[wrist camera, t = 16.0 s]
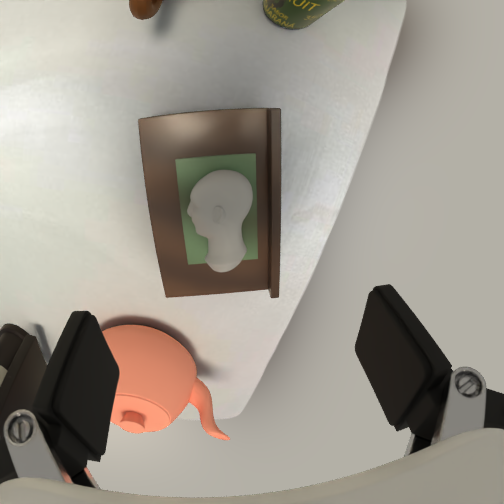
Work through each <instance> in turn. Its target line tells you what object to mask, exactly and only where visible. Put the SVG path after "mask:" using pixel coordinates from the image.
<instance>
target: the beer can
mask: <svg viewBox="0 0 504 504" xmlns="http://www.w3.org/2000/svg"><path fill="white" fill-rule="evenodd" d="M343 1H345V0H263V7H264V11H265V13H266V15H267V16H268V17H269V18H270V19H271V20H272V21H273V22H274V23H276V24H278V25H279V26H281V27H285V28H289V29H300V28H304V27H307V26H309V25H310V24H312V23H313V22H314V21H316V20H317V19H319V18H320V17H321V16H323V15H324V14H326V13H327V12H328V11H330V10H331V9H333V8H334V7H336V6H337V5H339V4H340V3H342V2H343Z"/></svg>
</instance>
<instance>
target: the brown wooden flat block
mask: <svg viewBox="0 0 504 504" xmlns="http://www.w3.org/2000/svg"><path fill="white" fill-rule="evenodd" d="M138 124H139V135H140V145H141V154H142V163H143V171H144V179H145V186H146V193H147V200H148V207H149V213H150V219H151V225H152V231H153V237H154V242H155V247H156V253H157V258H158V263H159V268H160V272H161V277H162V282H163V286H164V291H165V295H166V298H168V297H183V296H196V295H209V294H222V293H233V292H245V291H255V290H266V289H268V290H269V293H270V297H271V298H278V297H279V280H280V237H281V109H280V108H243V109H222V110H207V111H195V112H185V113H176V114H168V115H160V116H153V117H147V118H141V119H138ZM216 170H232V171H236V172H239V173H241V174H242V175H244V176H245V177H246V178H247V179H248V181H249V182H250V184H251V187H252V191H253V200H252V205H251V208H250V210H249V212H248V214H247V216H246V217H245V218H244V220H243V222H242V228H241V230H242V238H243V242H244V244H245V246H246V248H247V252H246V254H245V255H244V257H243V259H242V260H241V262H240V263H239V264H238V265H237V266H236V267H235V268H233V269H232V270H230V271H227V272H217V271H214V270H213V269H212V268H211V267H210V266H209V265H208V264H207V262H206V261H205V256H206V255H207V253H208V238H206V237H204V236H201V235H199V234H197V232H196V228H195V225H194V223H193V222H192V217H190V216H189V215H188V213H187V209H188V206H189V204H190V201H191V199H190V195H191V192H192V189H193V188H194V186H195V185H196V183H197V182H198V181H199V180H200V179H202V178H203V177H204V176H206V175H207V174H209V173H211V172H213V171H216Z"/></svg>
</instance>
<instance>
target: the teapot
mask: <svg viewBox="0 0 504 504" xmlns="http://www.w3.org/2000/svg"><path fill="white" fill-rule="evenodd" d="M102 333H103V335H104V337H105V340H106V342H107V344H108V346H109V348H110V350H111V352H112V354H113V356H114V358H115V360H116V362H117V364H118V367H119V371H120V375H119V380H118V385H117V389H116V394H115V399H114V404H113V409H112V415H111V420H110V421H111V422H112V423H114V424H116V425H118V426H120V427H121V428H122V429H123V430H125V431H128V432H131V433H143V432H154V431H159V430H162V429H164V428H166V427H167V426H169V425H170V424H171V423H172V422H173V421H174V420H175V419H176V418H177V417H178V416H179V414H180V413H181V412H182V411H183V410H184V408H185V407H186V406H187V404H188V402H190V403H191V404H193V405H194V406H195V407H196V408H197V409H198V411H199V413H200V419H201V424H202V427H203V429H204V430H205V431H206V432H207V433H208V434H209V435H211V436H213V437H215V438H218V439H222V440H230V438H229V437H228V436H227V435H225V434H224V433H223V432H222V431H221V430H219V428H218V427H217V425H216V424H215V421H214V417H213V408H212V398H211V394H210V392H209V390H208V388H207V387H206V385H205V384H204V383H203V382H202V381H201V380H199V379H198V378H197V369H196V365H195V362H194V360H193V358H192V356H191V355H190V353H189V352H188V351H187V349H186V348H185V347H183V346H182V345H181V344H180V343H179V342H178V341H176V340H175V339H174V338H172V337H171V336H169V335H168V334H166V333H164V332H162V331H160V330H157V329H155V328H151V327H148V326H142V325H121V326H116V327H112V328H109V329H106V330H104V331H102Z"/></svg>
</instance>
